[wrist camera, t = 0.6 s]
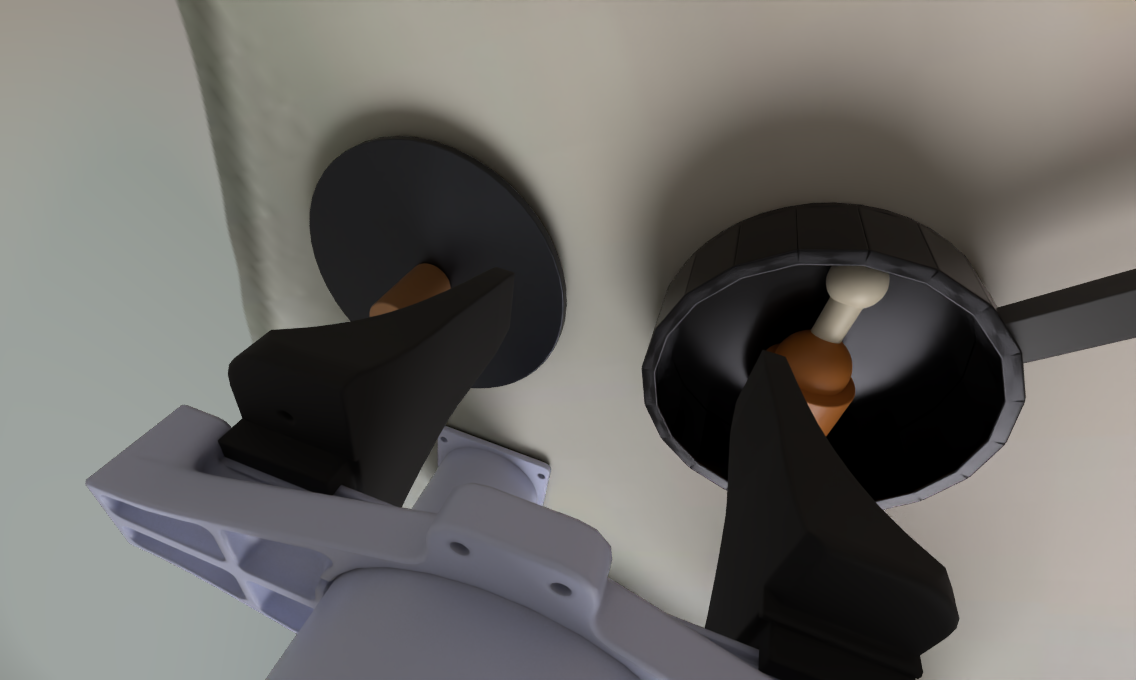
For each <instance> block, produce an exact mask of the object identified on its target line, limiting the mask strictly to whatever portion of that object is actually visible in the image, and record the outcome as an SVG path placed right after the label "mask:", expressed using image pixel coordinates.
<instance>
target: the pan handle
mask: <svg viewBox="0 0 1136 680" xmlns="http://www.w3.org/2000/svg"><path fill="white" fill-rule="evenodd" d="M997 310H998V312H999V314H1000V315H1001V317H1002V319H1003V321H1004V322H1005V324H1006V326H1007V327H1008V329H1009V330H1010V332H1011V333H1012V335H1013V337H1014V338H1015V340H1016V341H1017V343H1018V345H1019V346H1020V348H1021V350H1022V353H1023V363H1027V362H1031V361H1036V360H1040V359H1045V358H1049V357H1053V356H1058V355H1062V354H1066V353H1071V352H1075V351H1079V350H1084V349H1088V348H1092V347H1097V346H1101V345H1105V344H1110V343H1114V342H1118V341H1123V340H1127V339H1132V338H1136V269H1133V270H1129V271H1126V272H1122V273H1119V274H1115V275H1111V276H1108V277H1104V278H1101V279H1097V280H1094V281H1090V282H1087V283H1083V284H1080V285H1076V286H1072V287H1069V288H1065V289H1062V290H1058V291H1055V292H1051V293H1048V294H1044V295H1041V296H1037V297H1034V298H1030V299H1026V300H1023V301H1019V302H1016V303H1012V304H1009V305H1005V306H1002V307H998V308H997Z"/></svg>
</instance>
